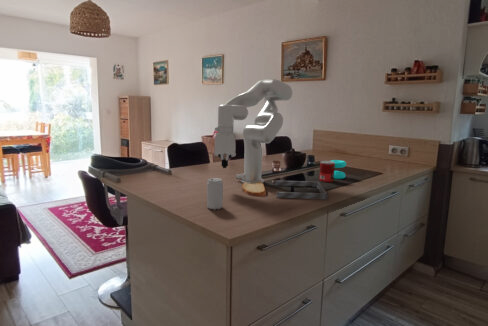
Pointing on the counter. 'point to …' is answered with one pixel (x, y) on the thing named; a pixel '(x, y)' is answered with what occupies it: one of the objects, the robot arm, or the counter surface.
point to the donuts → (339, 165)
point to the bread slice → (254, 189)
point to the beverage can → (214, 193)
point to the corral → (320, 195)
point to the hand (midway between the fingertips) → (224, 167)
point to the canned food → (327, 171)
